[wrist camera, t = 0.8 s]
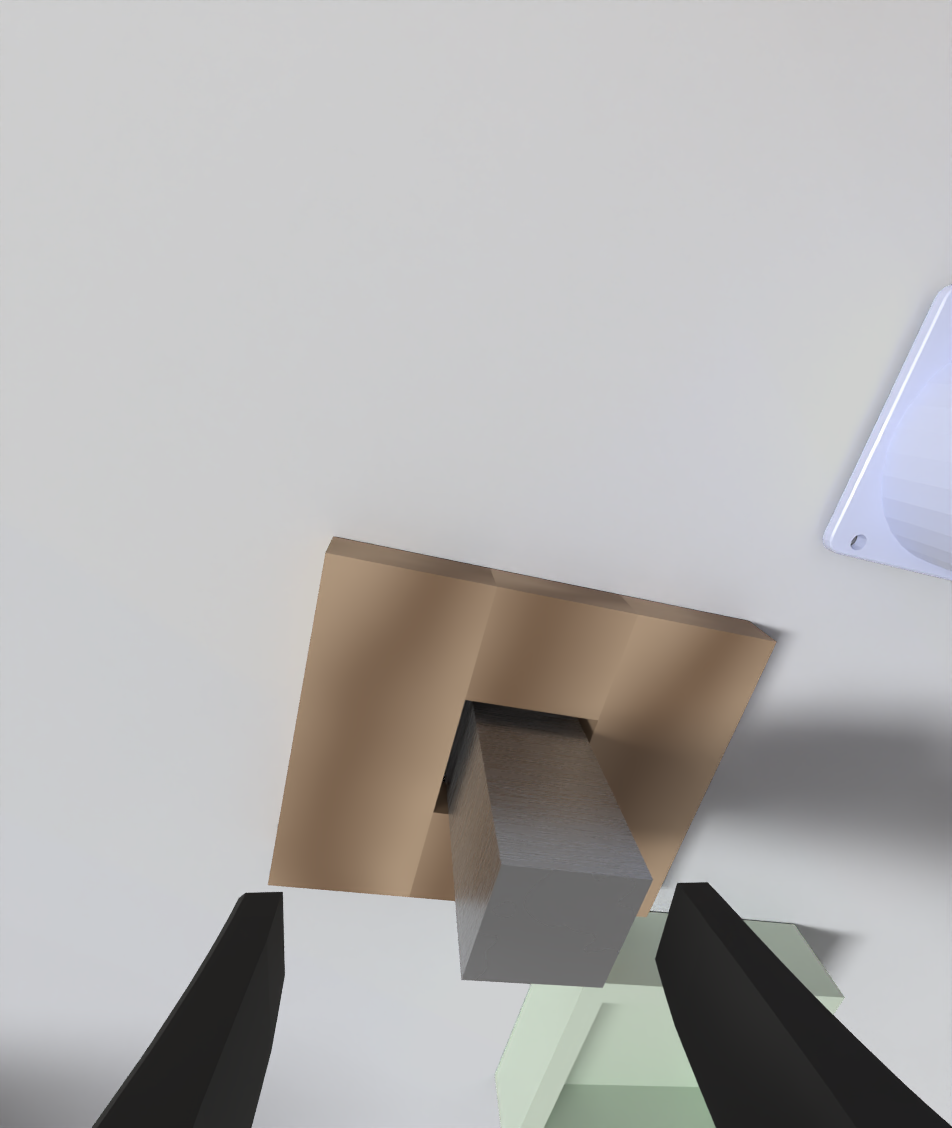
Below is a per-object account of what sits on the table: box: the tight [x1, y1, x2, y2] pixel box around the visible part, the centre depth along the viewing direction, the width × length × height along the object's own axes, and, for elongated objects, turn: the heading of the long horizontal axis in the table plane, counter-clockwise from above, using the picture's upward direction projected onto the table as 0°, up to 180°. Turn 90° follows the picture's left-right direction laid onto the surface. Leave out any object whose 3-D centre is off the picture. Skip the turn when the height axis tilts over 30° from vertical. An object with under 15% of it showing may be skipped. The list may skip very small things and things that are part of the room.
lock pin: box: [445, 700, 653, 988], centre depth 16 cm, size 4×4×7 cm
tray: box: [495, 912, 845, 1128], centre depth 23 cm, size 11×11×3 cm
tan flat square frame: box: [268, 537, 776, 917], centre depth 18 cm, size 14×12×2 cm
